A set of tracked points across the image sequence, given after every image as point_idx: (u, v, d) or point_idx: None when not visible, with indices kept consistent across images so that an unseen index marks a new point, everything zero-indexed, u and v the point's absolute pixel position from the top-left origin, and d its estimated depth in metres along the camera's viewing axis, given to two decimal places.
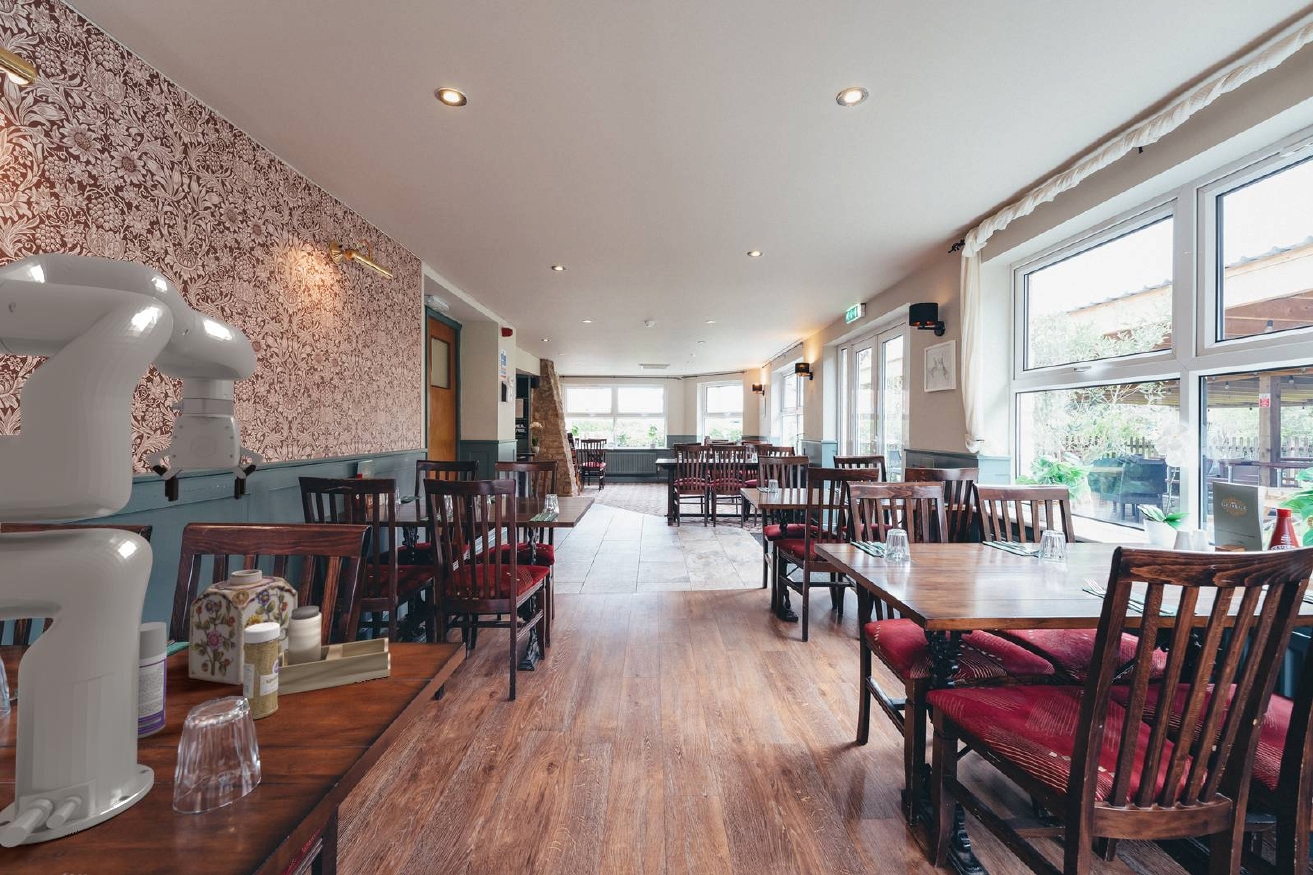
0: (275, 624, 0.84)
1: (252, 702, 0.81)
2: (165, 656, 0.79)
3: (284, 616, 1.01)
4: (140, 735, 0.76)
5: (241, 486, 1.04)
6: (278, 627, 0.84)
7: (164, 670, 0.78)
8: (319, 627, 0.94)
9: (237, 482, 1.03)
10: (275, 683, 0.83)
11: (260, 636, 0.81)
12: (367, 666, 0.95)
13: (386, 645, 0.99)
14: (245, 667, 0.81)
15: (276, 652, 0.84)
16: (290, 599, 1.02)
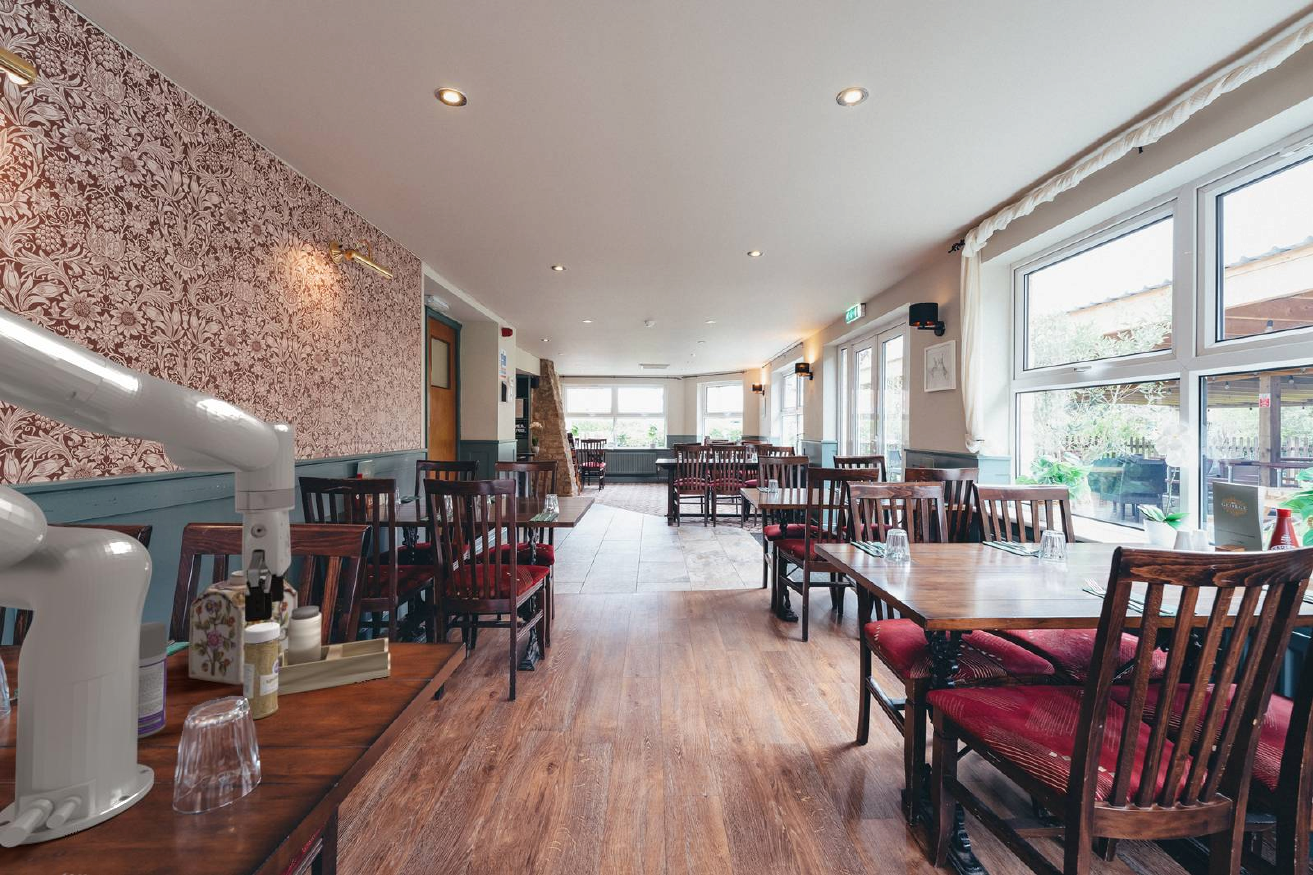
0: (275, 624, 0.84)
1: (252, 702, 0.81)
2: (165, 656, 0.79)
3: (284, 616, 1.01)
4: (140, 735, 0.76)
5: None
6: (278, 627, 0.84)
7: (164, 670, 0.78)
8: (319, 627, 0.94)
9: (283, 580, 0.89)
10: (275, 683, 0.83)
11: (259, 636, 0.81)
12: (367, 666, 0.95)
13: (386, 645, 0.99)
14: (245, 667, 0.81)
15: (276, 652, 0.83)
16: (290, 599, 1.02)
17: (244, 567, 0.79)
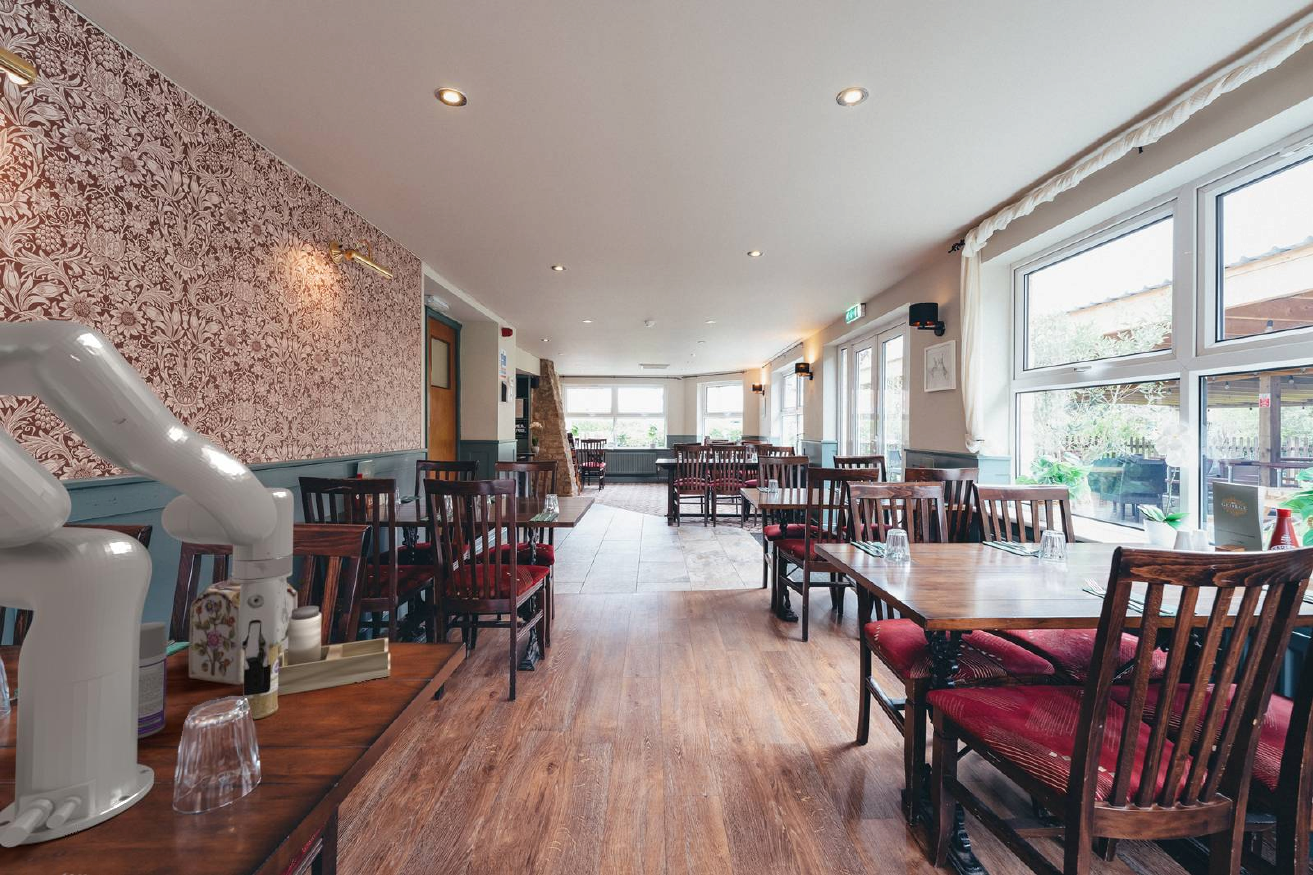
0: None
1: (252, 702, 0.81)
2: (165, 656, 0.79)
3: None
4: (140, 735, 0.76)
5: None
6: None
7: (164, 670, 0.78)
8: (319, 627, 0.94)
9: None
10: (275, 683, 0.83)
11: None
12: (367, 666, 0.95)
13: (386, 645, 0.99)
14: None
15: (276, 652, 0.84)
16: (290, 599, 1.02)
17: (240, 638, 0.78)
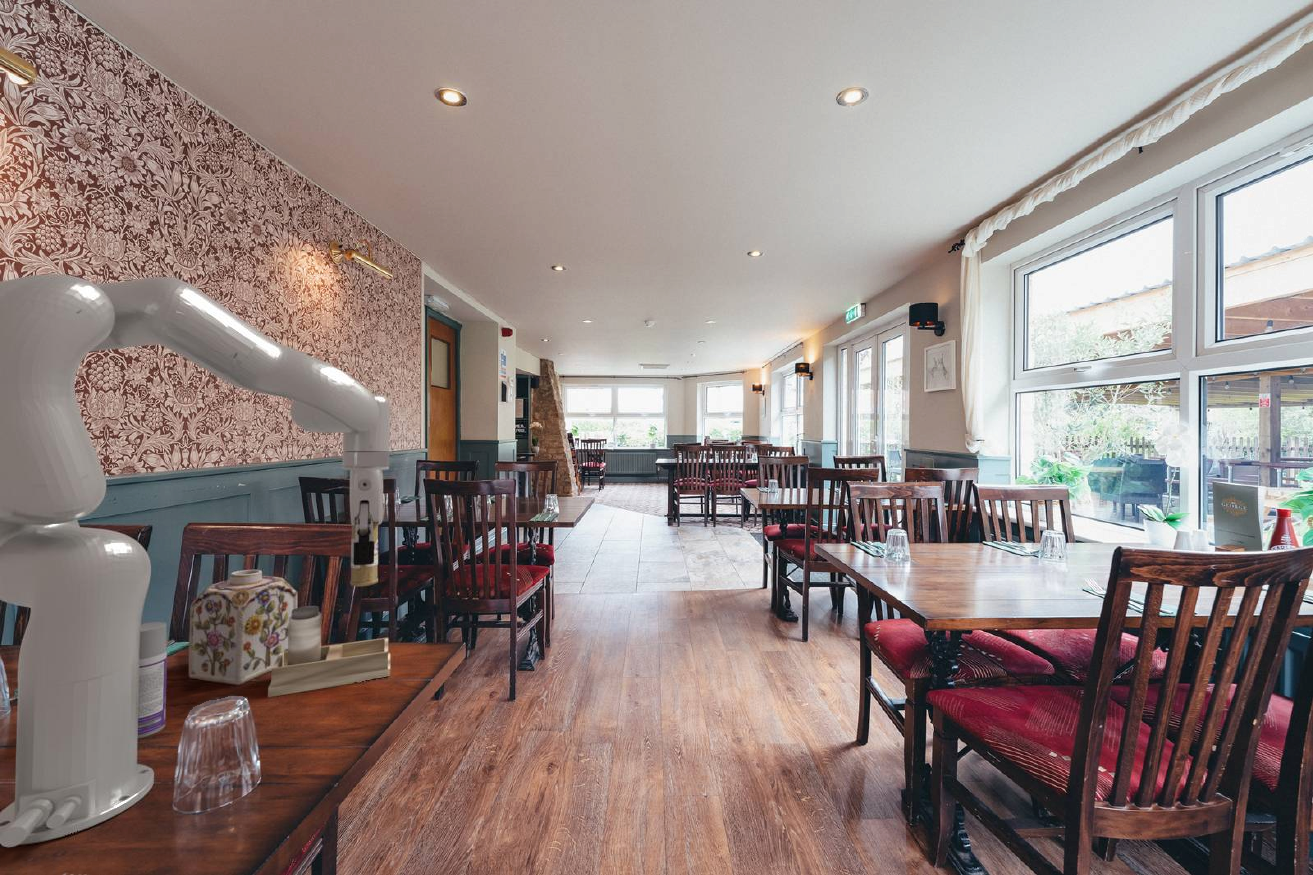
0: None
1: (360, 571, 0.96)
2: (165, 656, 0.79)
3: (284, 616, 1.01)
4: (140, 735, 0.76)
5: None
6: None
7: (164, 670, 0.78)
8: (319, 627, 0.94)
9: None
10: (376, 558, 0.98)
11: None
12: (367, 666, 0.95)
13: (386, 645, 0.99)
14: (353, 542, 0.96)
15: (377, 533, 0.99)
16: (290, 599, 1.02)
17: (353, 515, 0.93)
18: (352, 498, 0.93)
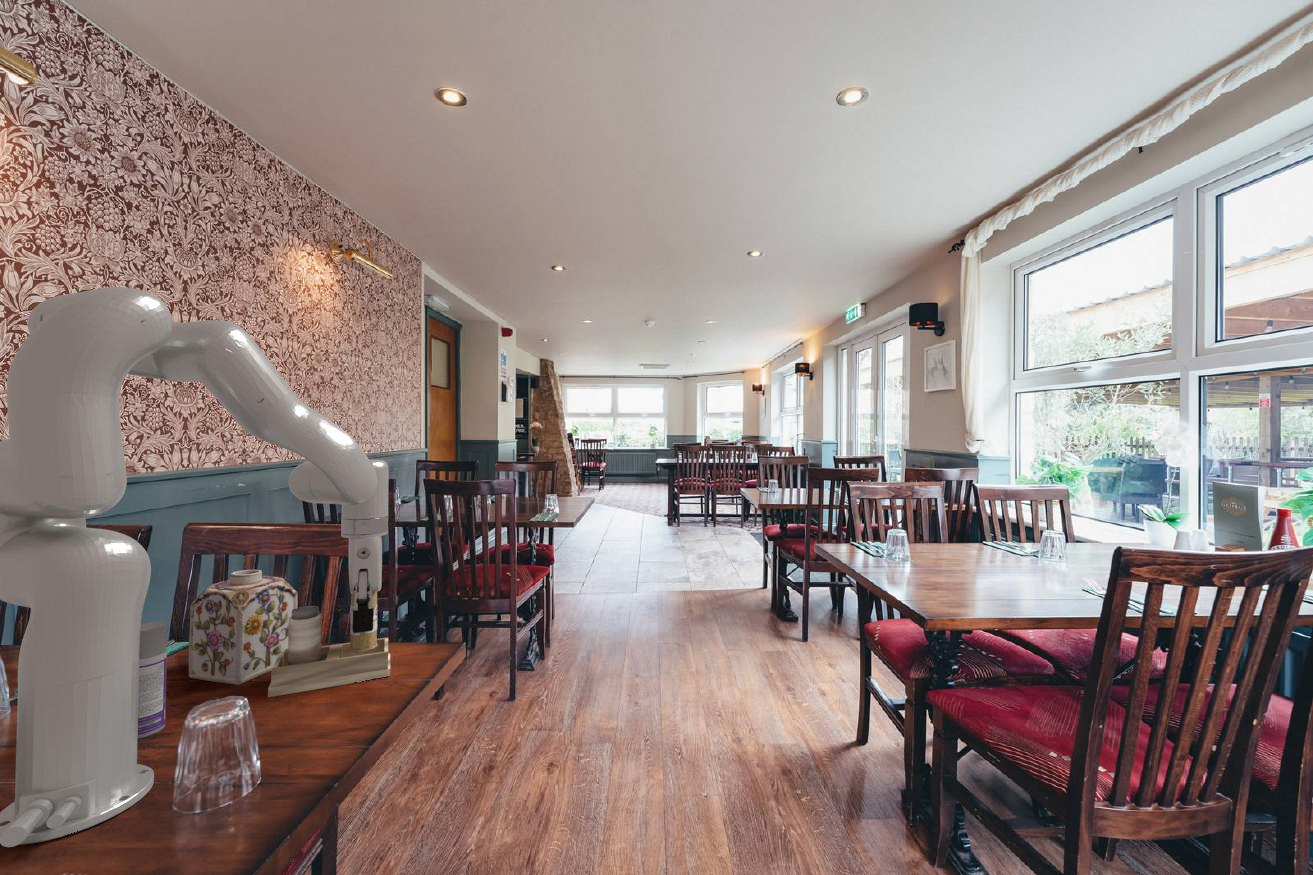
0: None
1: (359, 638, 0.96)
2: (165, 656, 0.79)
3: (284, 616, 1.01)
4: (140, 735, 0.76)
5: None
6: None
7: (164, 670, 0.78)
8: (319, 627, 0.94)
9: None
10: (375, 624, 0.98)
11: None
12: (367, 666, 0.95)
13: (386, 645, 0.99)
14: (352, 609, 0.96)
15: (376, 598, 0.99)
16: (290, 599, 1.02)
17: (351, 584, 0.93)
18: (351, 567, 0.93)
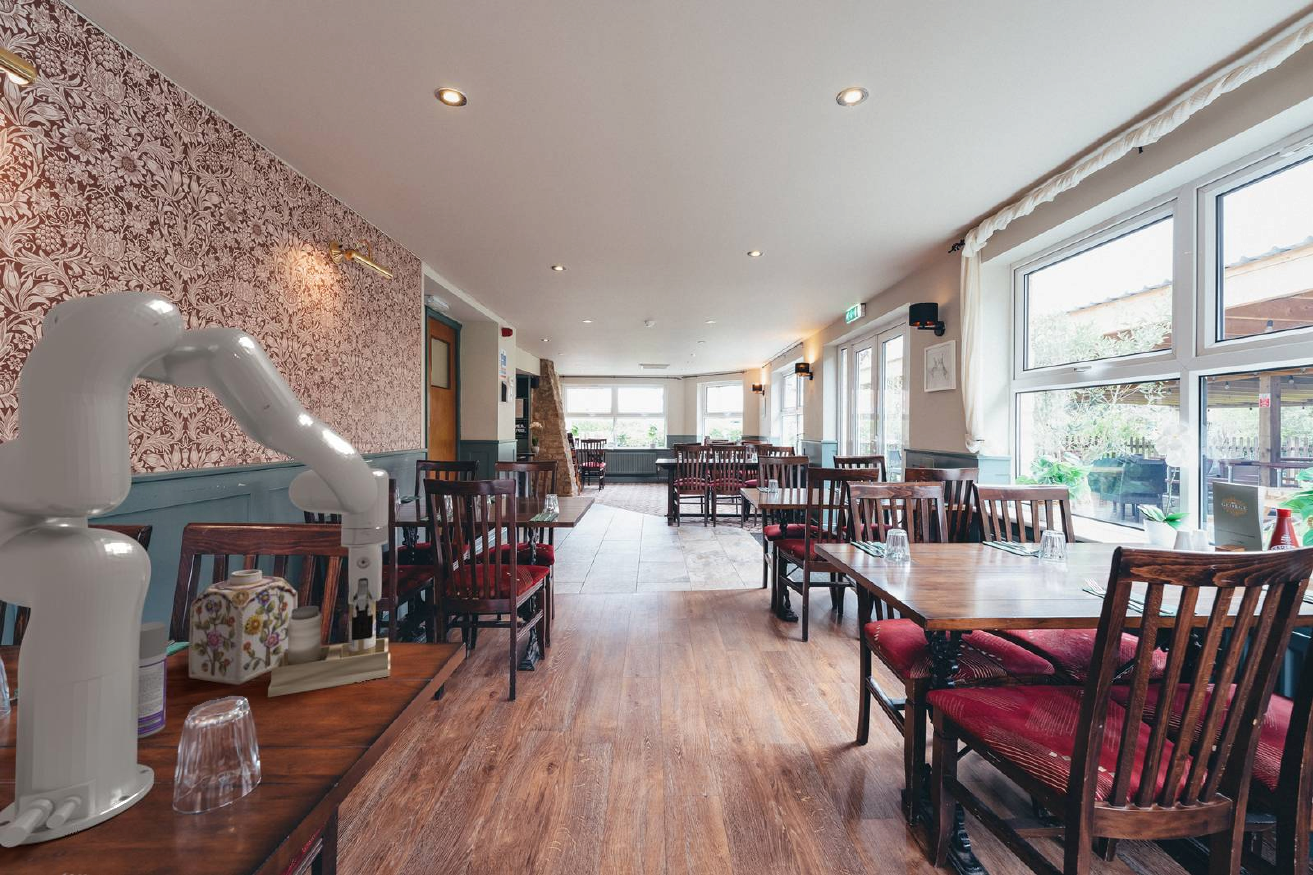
0: None
1: (357, 654, 0.96)
2: (165, 656, 0.79)
3: (284, 616, 1.01)
4: (140, 735, 0.76)
5: None
6: None
7: (164, 670, 0.78)
8: (319, 627, 0.94)
9: None
10: (374, 639, 0.98)
11: None
12: (367, 666, 0.95)
13: (386, 645, 0.99)
14: (351, 625, 0.96)
15: (374, 613, 0.98)
16: (290, 599, 1.02)
17: (351, 593, 0.93)
18: (351, 577, 0.93)
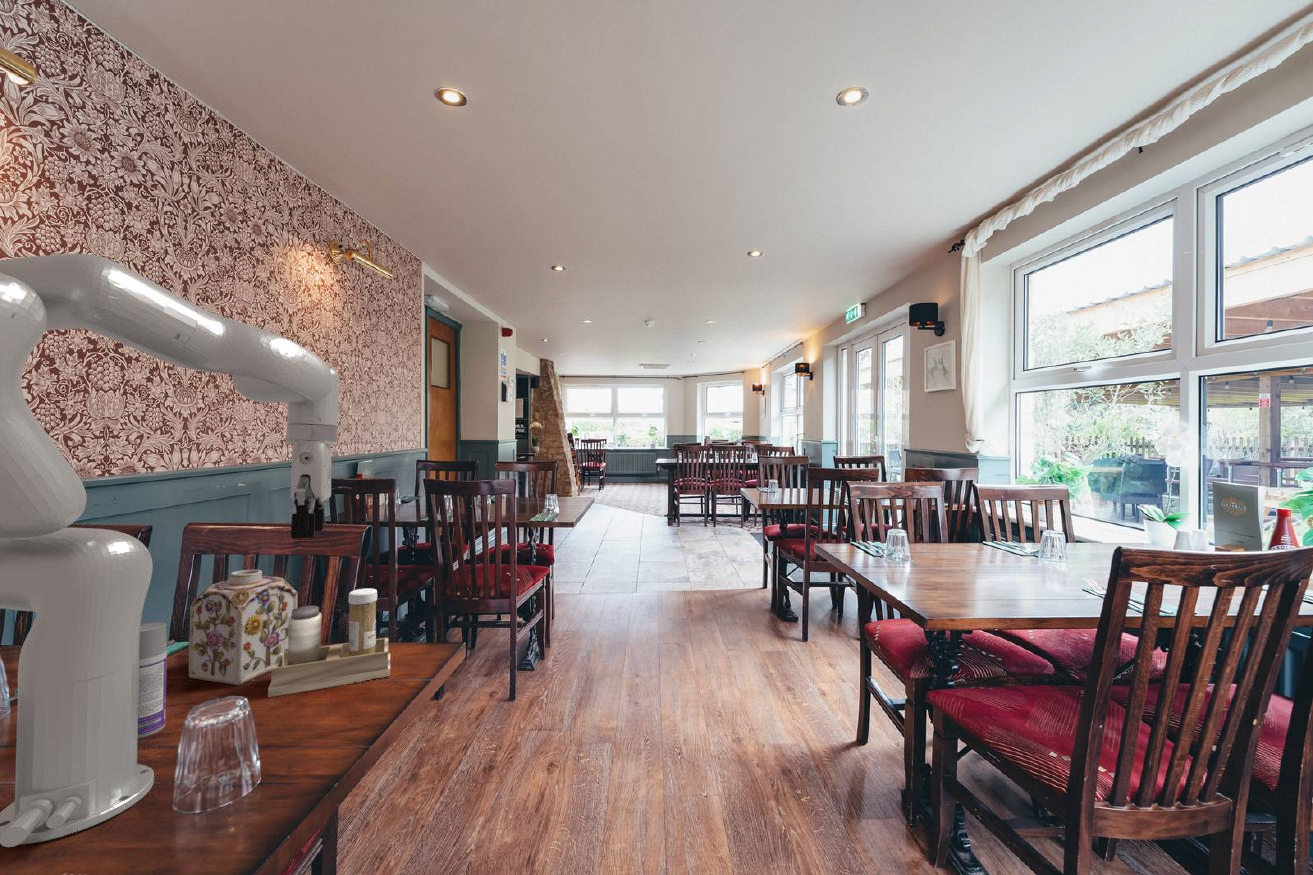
0: (373, 589, 0.99)
1: (357, 654, 0.96)
2: (165, 656, 0.79)
3: (284, 616, 1.01)
4: (140, 735, 0.76)
5: None
6: (376, 592, 0.99)
7: (164, 670, 0.78)
8: (319, 627, 0.94)
9: (323, 512, 0.99)
10: (374, 639, 0.98)
11: (363, 598, 0.96)
12: (367, 666, 0.95)
13: (386, 645, 0.99)
14: (351, 625, 0.96)
15: (375, 613, 0.98)
16: (290, 599, 1.02)
17: (292, 489, 0.89)
18: (292, 472, 0.89)
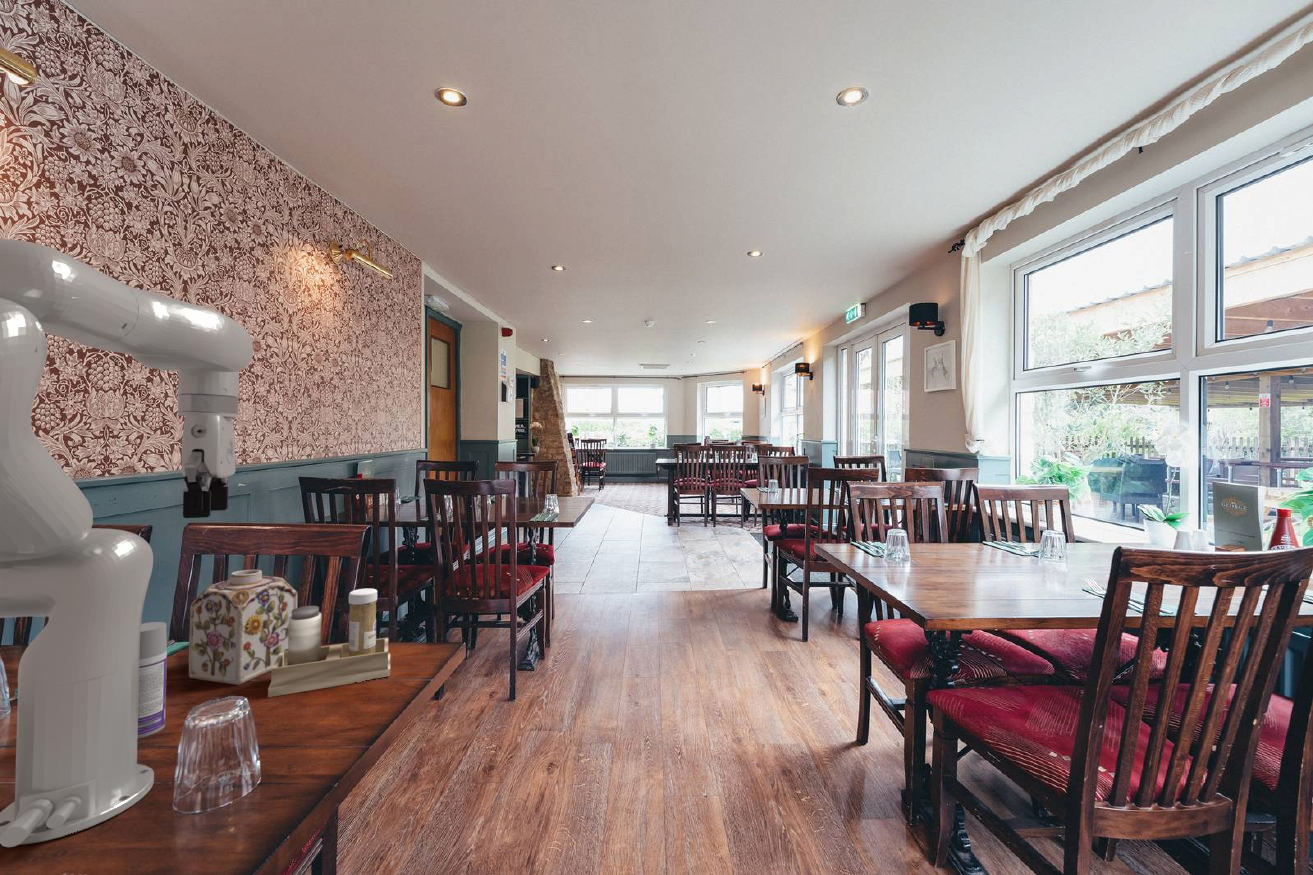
0: (373, 589, 0.99)
1: (357, 654, 0.96)
2: (165, 656, 0.79)
3: (284, 616, 1.01)
4: (140, 735, 0.76)
5: None
6: (376, 592, 0.99)
7: (164, 670, 0.78)
8: (319, 627, 0.94)
9: (227, 490, 0.92)
10: (374, 639, 0.98)
11: (363, 598, 0.96)
12: (367, 666, 0.95)
13: (386, 645, 0.99)
14: (351, 625, 0.96)
15: (375, 613, 0.98)
16: (290, 599, 1.02)
17: (183, 465, 0.82)
18: (183, 446, 0.82)
